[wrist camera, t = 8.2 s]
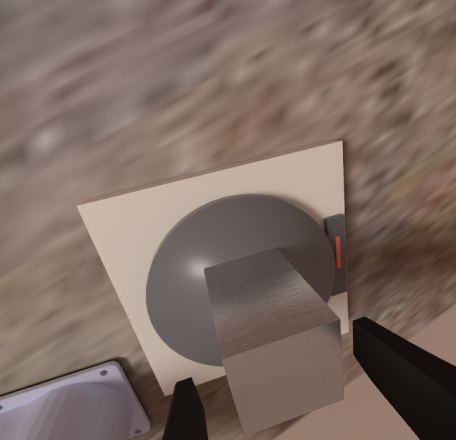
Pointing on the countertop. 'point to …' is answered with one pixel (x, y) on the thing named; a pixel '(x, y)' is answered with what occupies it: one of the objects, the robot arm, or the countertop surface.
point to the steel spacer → (274, 340)
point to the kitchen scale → (218, 246)
